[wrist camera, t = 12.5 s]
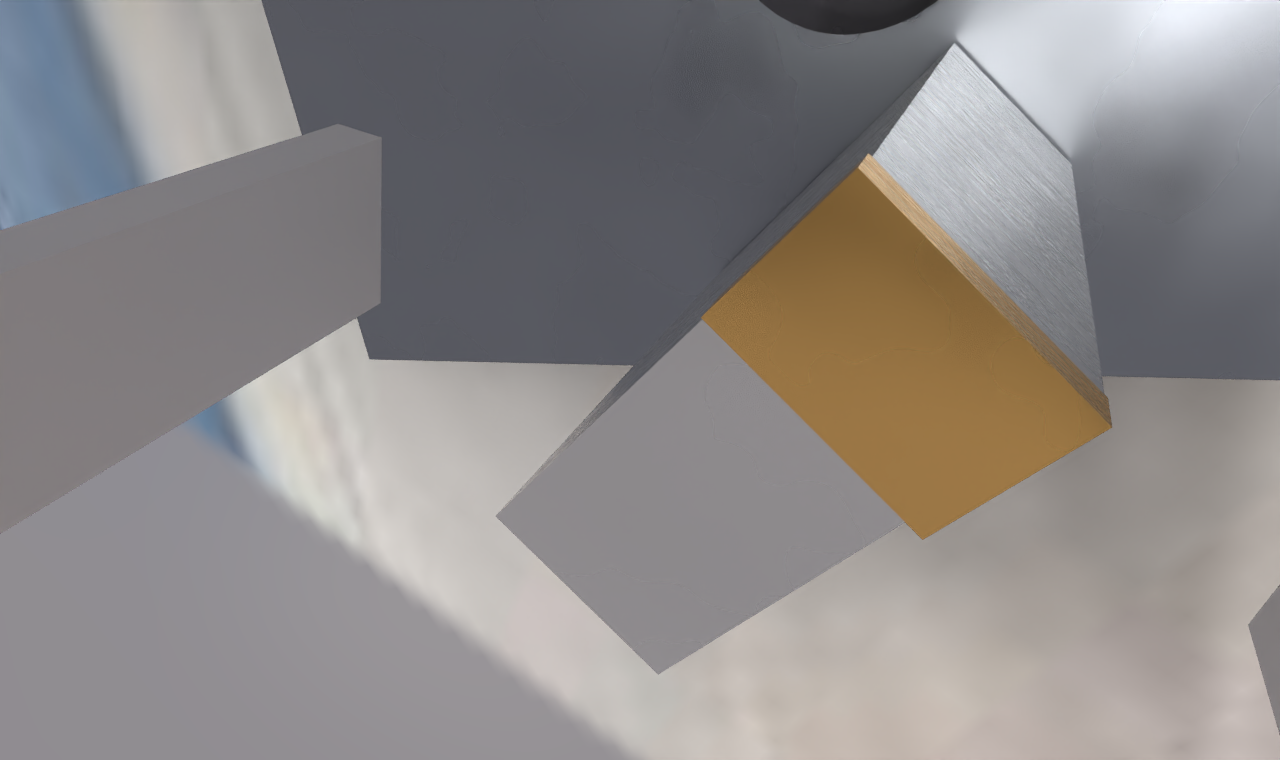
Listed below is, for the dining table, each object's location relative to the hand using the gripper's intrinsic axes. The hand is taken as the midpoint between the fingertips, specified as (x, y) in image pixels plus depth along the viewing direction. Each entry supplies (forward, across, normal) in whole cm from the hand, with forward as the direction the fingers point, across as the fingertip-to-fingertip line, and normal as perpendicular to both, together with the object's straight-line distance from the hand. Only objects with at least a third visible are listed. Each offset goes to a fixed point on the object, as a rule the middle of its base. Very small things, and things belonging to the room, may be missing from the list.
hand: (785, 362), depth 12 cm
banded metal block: (+8, 0, -1) cm, 8 cm away
